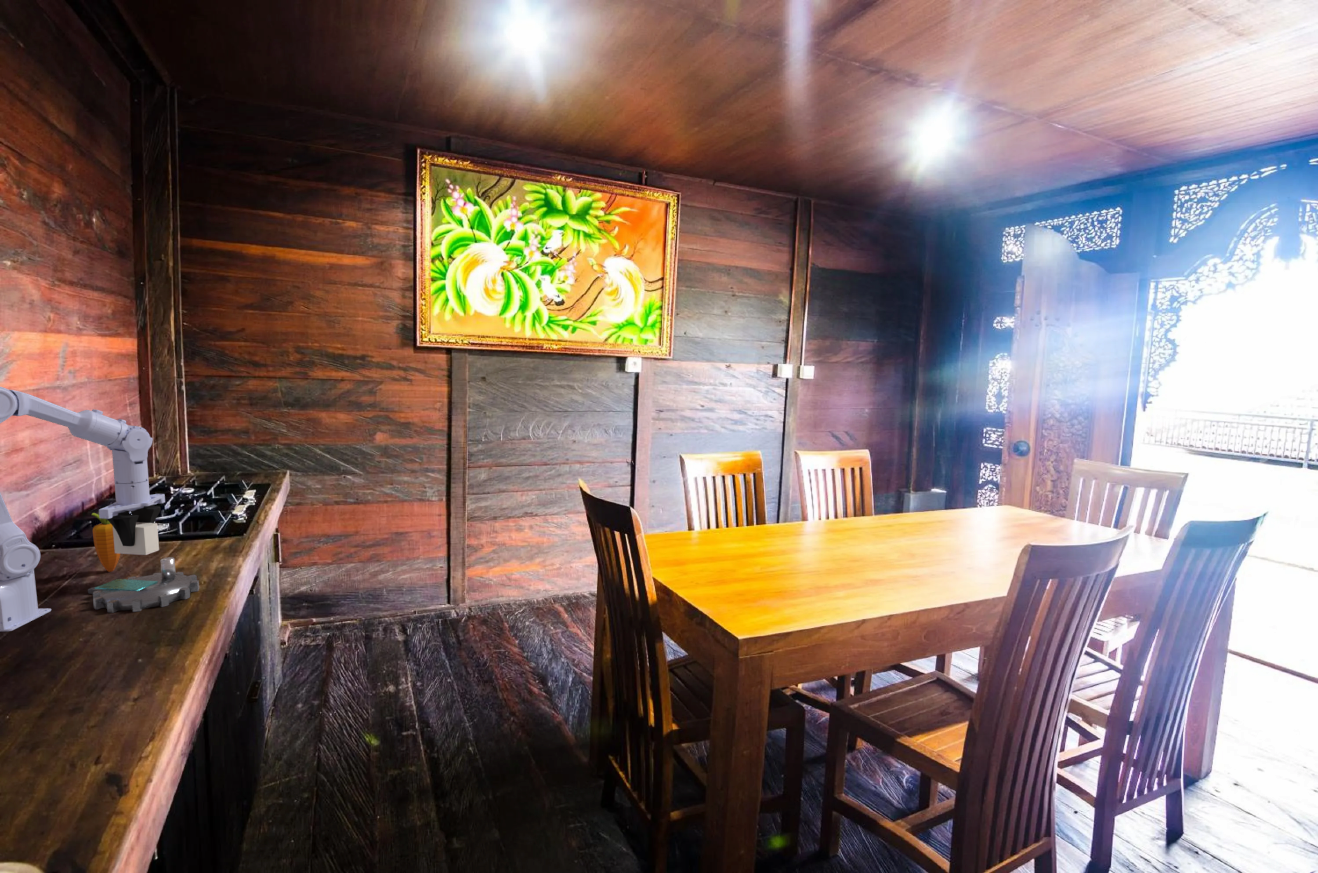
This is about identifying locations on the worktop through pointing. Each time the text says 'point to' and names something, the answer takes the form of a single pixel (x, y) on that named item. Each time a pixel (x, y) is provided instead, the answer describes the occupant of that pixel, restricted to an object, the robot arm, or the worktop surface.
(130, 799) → the worktop surface
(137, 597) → the sprocket
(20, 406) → the robot arm
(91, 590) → the timing pointer
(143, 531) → the white rectangular block
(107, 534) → the carrot
